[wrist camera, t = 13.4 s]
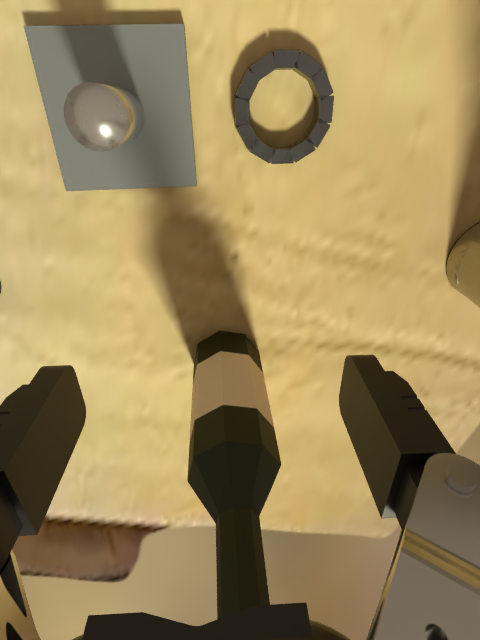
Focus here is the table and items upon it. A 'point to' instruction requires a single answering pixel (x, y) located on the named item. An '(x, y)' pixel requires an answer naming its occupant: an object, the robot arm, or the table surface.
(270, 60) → the metal eye
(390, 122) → the table surface
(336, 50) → the table surface
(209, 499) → the wine bottle
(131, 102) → the cylinder
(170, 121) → the slate mat
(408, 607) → the robot arm
